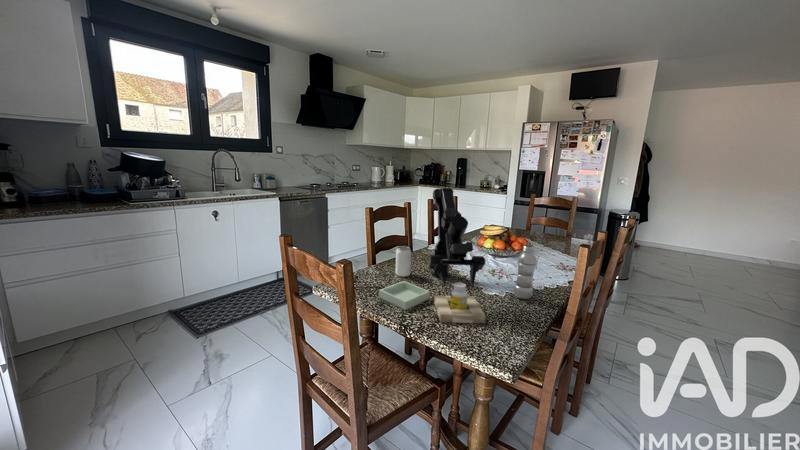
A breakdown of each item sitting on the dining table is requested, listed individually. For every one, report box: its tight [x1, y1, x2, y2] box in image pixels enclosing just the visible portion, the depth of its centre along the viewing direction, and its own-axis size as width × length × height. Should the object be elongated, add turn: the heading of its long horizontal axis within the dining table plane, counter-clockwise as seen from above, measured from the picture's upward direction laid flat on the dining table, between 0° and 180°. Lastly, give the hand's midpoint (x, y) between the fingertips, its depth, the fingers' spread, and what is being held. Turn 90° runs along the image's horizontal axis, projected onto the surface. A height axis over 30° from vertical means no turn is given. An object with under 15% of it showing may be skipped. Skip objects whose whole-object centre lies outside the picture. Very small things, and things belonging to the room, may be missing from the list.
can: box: [395, 245, 412, 278], centre depth 135 cm, size 6×6×12 cm
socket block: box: [433, 295, 486, 324], centre depth 104 cm, size 14×14×2 cm
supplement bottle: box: [450, 281, 469, 310], centre depth 104 cm, size 5×5×10 cm
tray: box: [378, 280, 431, 311], centre depth 113 cm, size 13×13×3 cm
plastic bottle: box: [513, 244, 538, 300], centre depth 115 cm, size 6×7×20 cm
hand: (458, 285), depth 104 cm, fingers open, 9 cm apart
